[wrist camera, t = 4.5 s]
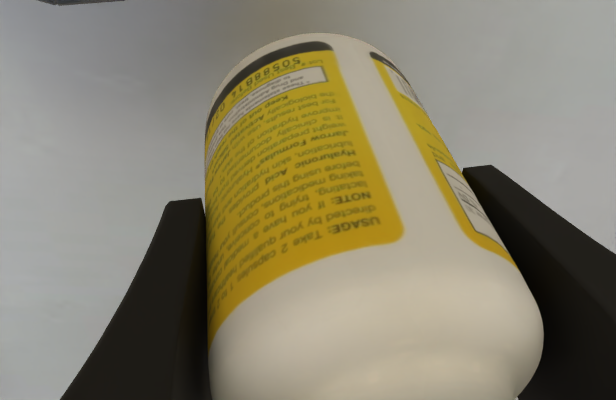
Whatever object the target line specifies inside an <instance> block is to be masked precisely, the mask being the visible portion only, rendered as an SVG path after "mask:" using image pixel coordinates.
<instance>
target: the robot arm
mask: <svg viewBox="0 0 616 400" xmlns="http://www.w3.org/2000/svg"><path fill="white" fill-rule="evenodd" d="M462 175H463V176H464V178H465V180H466V181H467V183H468V185H469V186H470V188H471V190H472V191H473V192H474V194H475V196H476V198H477V200H478V202H479V203H480V205H481V207H482V208H483V210H484V212H485V214H486V216H487V217H488V219H489V220H490V222H491V224H492V225H493V227H494V229H495V231H496V232H497V234H498V236H499V237H500V239H501V241H502V242H503V244H504V246H505V247H506V249H507V251H508V252H509V254H510V256H511V258H512V259H513V261H514V262H515V264H516V265H517V267H518V269H519V271H520V273H521V275H522V276H523V278H524V280H525V282H526V284H527V286H528V288H529V290H530V291H531V293H532V295H533V297H534V299H535V301H536V303H537V306H538V308H539V311H540V314H541V318H542V322H543V330H544V341H543V350H542V355H541V360H540V362H539V365H538V367H537V369H536V371H535V373H534V375H533V377H532V378H531V380H530V382H529V383H528V384H527V386H526V387H525V388H524V389H523V391H522V392H521V393H520V394H519V395H518V396H517V397H518V399H519V400H616V254H614V253H613V252H611V251H610V250H608V249H607V248H605V247H604V246H602V245H601V244H599V243H598V242H596V241H595V240H593V239H592V238H591V237H589V236H588V235H586V234H585V233H583V232H582V231H581V230H579V229H578V228H576V227H575V226H574V225H572V224H571V223H569V222H568V221H567V220H565V219H564V218H562V217H561V216H560V215H558V214H557V213H556V212H554V211H553V210H552V209H550V208H549V207H548V206H546V205H545V204H544V203H542V202H541V201H540V200H538V199H537V198H536V197H534V196H533V195H532V194H530V193H529V192H528V191H526V190H525V189H524V188H522V187H521V186H520V185H518V184H517V183H516V182H514V181H513V180H512V179H510V178H509V177H508V176H506V175H505V174H503V173H502V172H501V171H499V170H498V169H496V168H495V167H494V166H492V165H485V166H477V167H468V168H463V171H462ZM60 400H212V396H211V390H210V381H209V369H208V336H207V260H206V217H205V213H204V209H203V204H202V200H201V198H196V199H187V200H178V201H170V202H169V203H168V204H167V205H166V206H165V209H164V212H163V214H162V217H161V220H160V222H159V225H158V227H157V230H156V232H155V234H154V237H153V239H152V241H151V244H150V246H149V248H148V250H147V252H146V255H145V257H144V259H143V261H142V263H141V265H140V267H139V269H138V271H137V273H136V275H135V277H134V279H133V281H132V283H131V285H130V287H129V289H128V291H127V293H126V295H125V297H124V298H123V300H122V302H121V304H120V305H119V307H118V309H117V311H116V312H115V314H114V316H113V318H112V319H111V321H110V323H109V325H108V326H107V328H106V330H105V332H104V333H103V335H102V337H101V338H100V340H99V342H98V343H97V345H96V346H95V348H94V350H93V351H92V353H91V354H90V356H89V358H88V359H87V361H86V362H85V364H84V365H83V367H82V368H81V370H80V371H79V373H78V374H77V376H76V377H75V379H74V380H73V382H72V383H71V384H70V386H69V387H68V389H67V390H66V392H65V393H64V395H63V396H62V397H61V399H60Z"/></svg>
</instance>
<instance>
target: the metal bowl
mask: <svg viewBox="0 0 616 400" xmlns="http://www.w3.org/2000/svg"><path fill="white" fill-rule="evenodd" d="M38 1H42V2H45V3H49V4H52V5H57V4H58V5H60V6H62V5H75V4H88V3H101V2H114V1H125V0H38Z"/></svg>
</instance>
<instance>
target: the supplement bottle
mask: <svg viewBox="0 0 616 400" xmlns="http://www.w3.org/2000/svg"><path fill="white" fill-rule="evenodd" d="M205 217H206V260H207V336H208V369H209V381H210V390H211V396H212V400H514V399H515V398H516V397H517V396H518V395H519V394H520V393H521V392H522V391H523V389H524V388H525V387H526V386H527V384H528V383H529V382H530V380H531V378H532V377H533V375H534V373H535V371H536V369H537V367H538V365H539V362H540V360H541V355H542V350H543V341H544V330H543V322H542V318H541V314H540V311H539V308H538V306H537V303H536V301H535V299H534V297H533V295H532V293H531V291H530V290H529V288H528V286H527V284H526V282H525V280H524V278H523V276H522V275H521V273H520V271H519V269H518V267H517V265H516V264H515V262H514V261H513V259H512V258H511V256H510V254H509V252H508V251H507V249H506V247H505V246H504V244H503V242H502V241H501V239H500V237H499V236H498V234H497V232H496V231H495V229H494V227H493V225H492V224H491V222H490V220H489V219H488V217H487V216H486V214H485V212H484V210H483V208H482V207H481V205H480V203H479V202H478V200H477V198H476V196H475V194H474V192H473V191H472V190H471V188H470V186H469V185H468V183H467V181H466V180H465V178H464V176H463V175H462V173H461V171H460V169H459V168H458V166H457V164H456V162H455V161H454V159H453V157H452V156H451V154H450V152H449V150H448V149H447V147H446V145H445V144H444V142H443V140H442V138H441V137H440V135H439V133H438V131H437V130H436V128H435V127H434V125H433V124H432V122H431V120H430V118H429V116H428V115H427V113H426V111H425V110H424V108H423V106H422V104H421V103H420V101H419V100H418V98H417V96H416V94H415V93H414V91H413V89H412V88H411V86H410V84H409V83H408V81H407V80H406V78H405V77H404V76H403V74H402V73H401V71H400V70H399V69H398V68H397V66H396V65H395V64H394V63H393V62H392V61H391V60H390V59H389V58H388V57H387V56H386V55H385V54H384V53H382V52H381V51H379V50H378V49H376V48H375V47H373V46H371V45H369V44H368V43H365V42H363V41H361V40H358V39H355V38H352V37H349V36H345V35H339V34H332V33H307V34H300V35H295V36H291V37H287V38H283V39H280V40H277V41H274V42H272V43H269V44H267V45H265V46H263V47H261V48H259V49H258V50H256V51H254V52H253V53H251V54H250V55H248V56H247V57H246V58H244V59H243V60H242V61H241V62H239V63H238V64H237V65H236V66H235V67H234V68H233V69H232V70H231V71H230V72H229V74H228V75H227V76H226V77H225V79H224V80H223V82H222V83H221V85H220V86H219V87H218V89H217V91H216V93H215V95H214V97H213V99H212V102H211V105H210V108H209V111H208V115H207V121H206V130H205Z"/></svg>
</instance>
